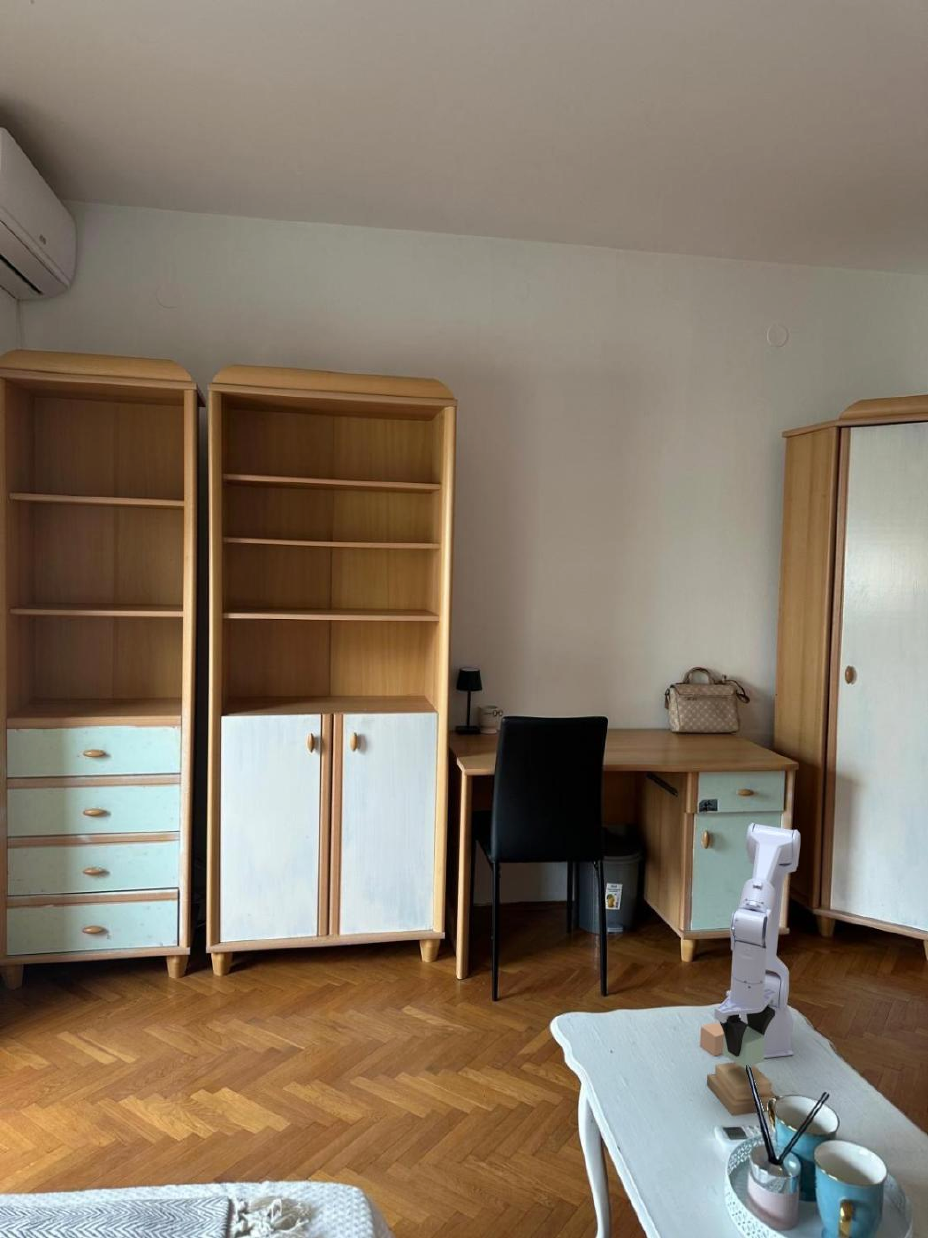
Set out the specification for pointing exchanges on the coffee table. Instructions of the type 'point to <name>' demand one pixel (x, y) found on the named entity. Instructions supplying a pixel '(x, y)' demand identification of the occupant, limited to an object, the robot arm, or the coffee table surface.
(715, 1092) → the slab bottom
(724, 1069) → the slab top
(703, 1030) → the terracotta cube
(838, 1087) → the coffee table surface
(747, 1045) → the sage cube
